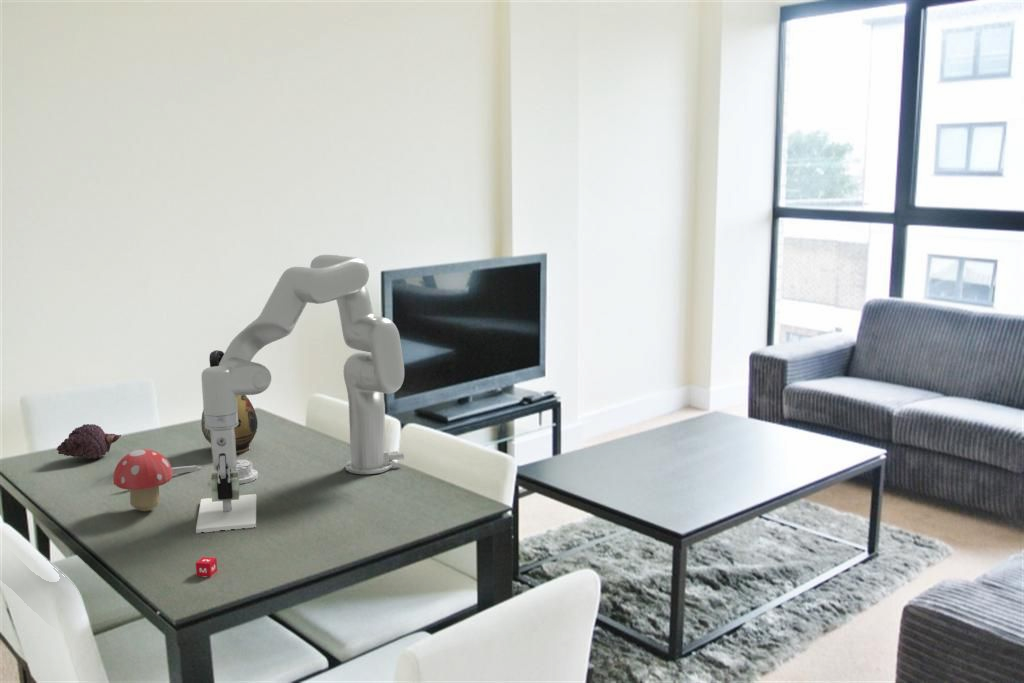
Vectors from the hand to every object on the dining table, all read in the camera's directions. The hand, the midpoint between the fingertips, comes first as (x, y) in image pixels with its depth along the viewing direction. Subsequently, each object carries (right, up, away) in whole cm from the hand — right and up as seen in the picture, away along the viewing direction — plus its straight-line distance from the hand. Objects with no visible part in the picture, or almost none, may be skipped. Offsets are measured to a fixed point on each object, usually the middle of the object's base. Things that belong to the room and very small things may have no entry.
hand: (225, 493), depth 226 cm
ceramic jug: (-14, +4, +50) cm, 52 cm away
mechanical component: (-5, -1, +27) cm, 27 cm away
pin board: (0, -5, +1) cm, 5 cm away
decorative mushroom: (-20, -5, +4) cm, 21 cm away
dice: (+5, -12, -31) cm, 34 cm away
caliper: (-23, -1, +27) cm, 36 cm away
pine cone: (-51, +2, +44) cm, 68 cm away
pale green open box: (0, -1, 0) cm, 1 cm away
